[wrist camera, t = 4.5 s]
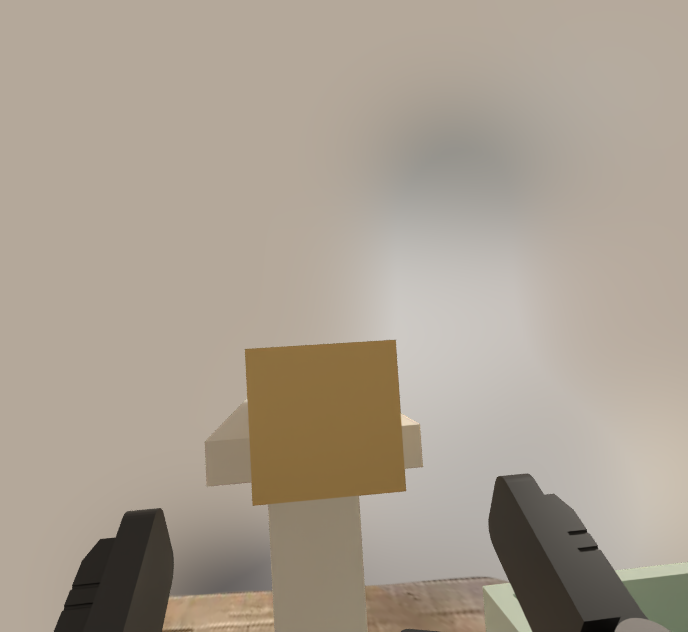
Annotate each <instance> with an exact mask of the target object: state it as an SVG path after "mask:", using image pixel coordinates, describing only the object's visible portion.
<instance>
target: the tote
mask: <svg viewBox="0 0 688 632" xmlns="http://www.w3.org/2000/svg"><path fill="white" fill-rule="evenodd" d="M615 572H616V573H617V575H618V576H619V578H620V579H621V581H622V582H623V584H624V585H625V587H626V588H627V590H628V591H629V593H630V594H631V596H632V597H633V599H634V600H635V602H636V603H637V604H638V606H639V607H640V609H641V610H642V612H643V613H644V614H645V616H646V617H647V618H648V619H649V620H650V621H653V622H656V623H658V624H660V625H662V626H664V627H665V628H667V629H668V630H670V631H671V632H688V562H684V563H675V564H667V565H659V566H650V567H642V568H633V569H625V570H616V571H615ZM483 599H484V612H485V624H486V632H532V630H531V628H530V626H529V624H528V621H527V619H526V617H525V615H524V613H523V610H522V608H521V606H520V604H519V602H518V599H517V597H516V595H515V593H514V591H513V588H512V586H511V584H510V583H505V584H497V585H488V586H483Z"/></svg>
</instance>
